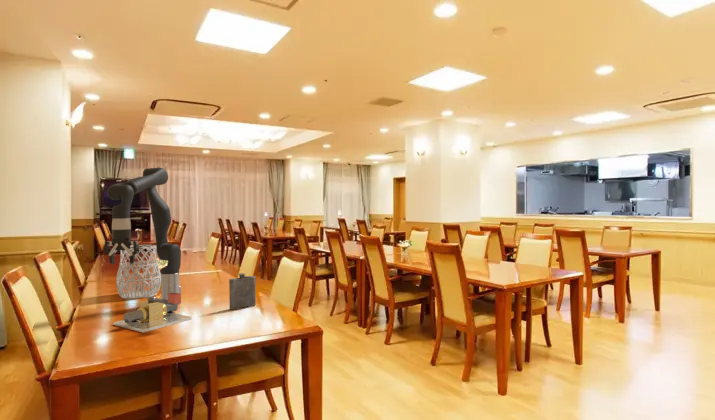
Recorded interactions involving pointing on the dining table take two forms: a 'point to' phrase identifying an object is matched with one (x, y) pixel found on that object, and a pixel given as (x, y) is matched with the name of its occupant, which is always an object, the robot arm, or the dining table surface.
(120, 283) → the vase
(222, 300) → the dining table surface
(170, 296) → the lever
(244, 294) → the flask
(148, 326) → the valve
